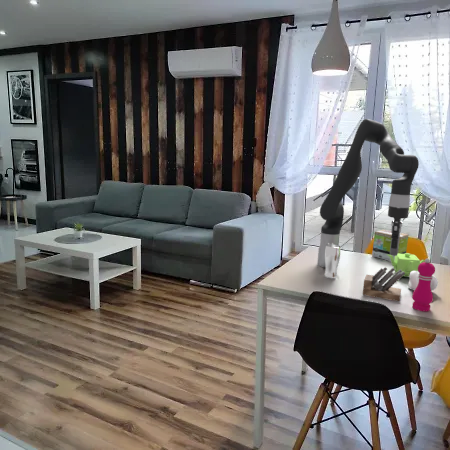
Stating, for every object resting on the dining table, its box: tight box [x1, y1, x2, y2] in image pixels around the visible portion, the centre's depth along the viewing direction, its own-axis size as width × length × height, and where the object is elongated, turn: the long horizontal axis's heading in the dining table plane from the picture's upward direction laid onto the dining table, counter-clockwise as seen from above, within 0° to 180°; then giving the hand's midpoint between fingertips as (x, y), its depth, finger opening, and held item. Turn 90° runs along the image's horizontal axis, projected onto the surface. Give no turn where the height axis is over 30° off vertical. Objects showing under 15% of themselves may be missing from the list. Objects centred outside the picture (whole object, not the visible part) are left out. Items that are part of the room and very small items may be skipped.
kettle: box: [386, 252, 425, 279], centre depth 201 cm, size 15×14×11 cm
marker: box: [390, 234, 400, 256], centre depth 170 cm, size 3×3×12 cm
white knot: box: [407, 271, 439, 292], centre depth 181 cm, size 11×12×9 cm
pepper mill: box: [411, 258, 436, 312], centre depth 160 cm, size 7×7×20 cm
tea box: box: [371, 229, 409, 262], centre depth 231 cm, size 15×10×15 cm
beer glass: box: [323, 244, 341, 280], centre depth 195 cm, size 7×7×15 cm
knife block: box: [362, 266, 405, 302], centre depth 174 cm, size 15×9×11 cm, turn 65°
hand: (394, 247), depth 170 cm, fingers closed on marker, 3 cm apart
